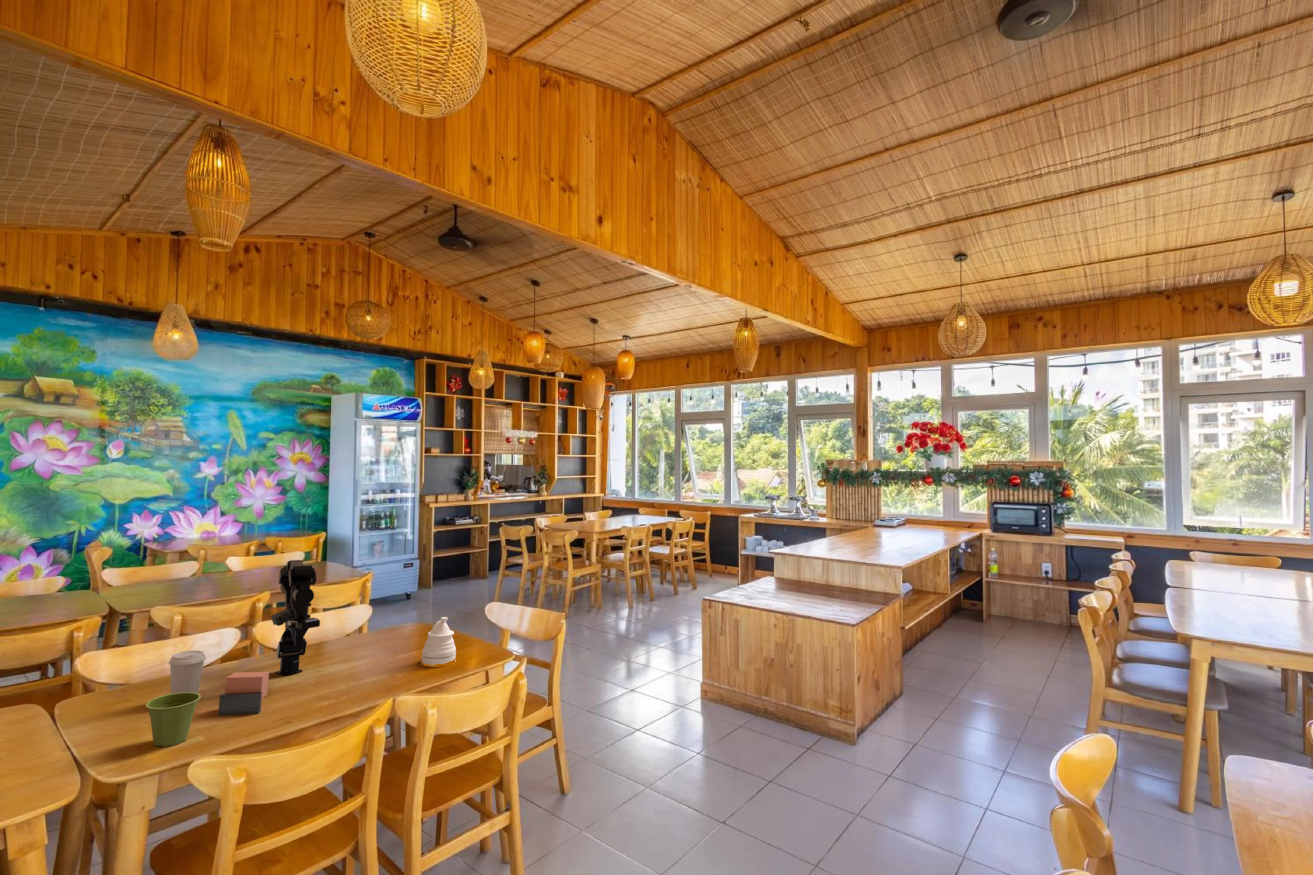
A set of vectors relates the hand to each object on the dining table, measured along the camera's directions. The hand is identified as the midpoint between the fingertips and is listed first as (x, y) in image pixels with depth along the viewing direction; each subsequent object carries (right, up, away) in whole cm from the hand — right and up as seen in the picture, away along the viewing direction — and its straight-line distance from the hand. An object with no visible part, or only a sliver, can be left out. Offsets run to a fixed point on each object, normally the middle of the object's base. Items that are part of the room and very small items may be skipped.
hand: (296, 645), depth 212 cm
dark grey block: (-2, -11, -23) cm, 25 cm away
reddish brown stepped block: (-1, -11, -25) cm, 27 cm away
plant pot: (-5, -10, -49) cm, 50 cm away
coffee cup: (-24, -11, -21) cm, 33 cm away
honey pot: (+40, -17, +28) cm, 52 cm away
